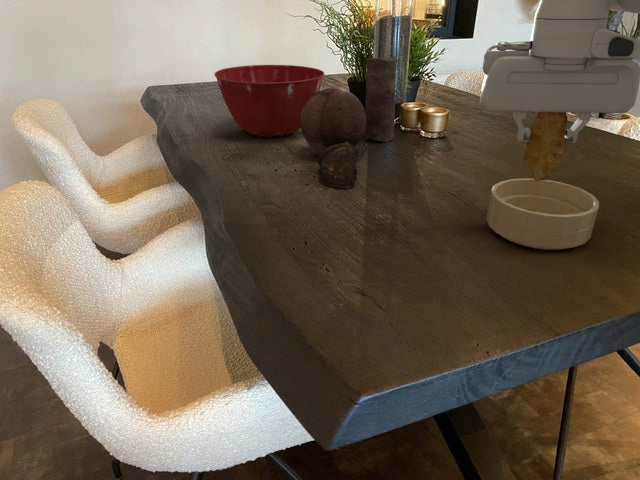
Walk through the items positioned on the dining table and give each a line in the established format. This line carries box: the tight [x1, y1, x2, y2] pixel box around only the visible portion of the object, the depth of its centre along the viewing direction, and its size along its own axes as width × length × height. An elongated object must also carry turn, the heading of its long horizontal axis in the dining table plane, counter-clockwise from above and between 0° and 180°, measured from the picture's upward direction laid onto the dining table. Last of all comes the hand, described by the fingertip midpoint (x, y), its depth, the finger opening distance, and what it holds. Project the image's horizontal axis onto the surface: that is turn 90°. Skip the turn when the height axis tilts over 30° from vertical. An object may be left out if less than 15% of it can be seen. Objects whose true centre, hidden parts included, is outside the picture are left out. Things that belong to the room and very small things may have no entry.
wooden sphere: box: [300, 87, 366, 154], centre depth 111 cm, size 15×15×15 cm
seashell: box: [317, 141, 360, 189], centre depth 101 cm, size 16×9×7 cm, turn 179°
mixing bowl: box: [214, 64, 326, 138], centre depth 130 cm, size 28×28×15 cm
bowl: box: [486, 177, 600, 251], centre depth 77 cm, size 15×15×6 cm
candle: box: [364, 56, 397, 143], centre depth 121 cm, size 8×7×20 cm
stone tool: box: [523, 112, 568, 181], centre depth 72 cm, size 5×2×15 cm, turn 80°
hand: (545, 141), depth 72 cm, fingers closed on stone tool, 5 cm apart
